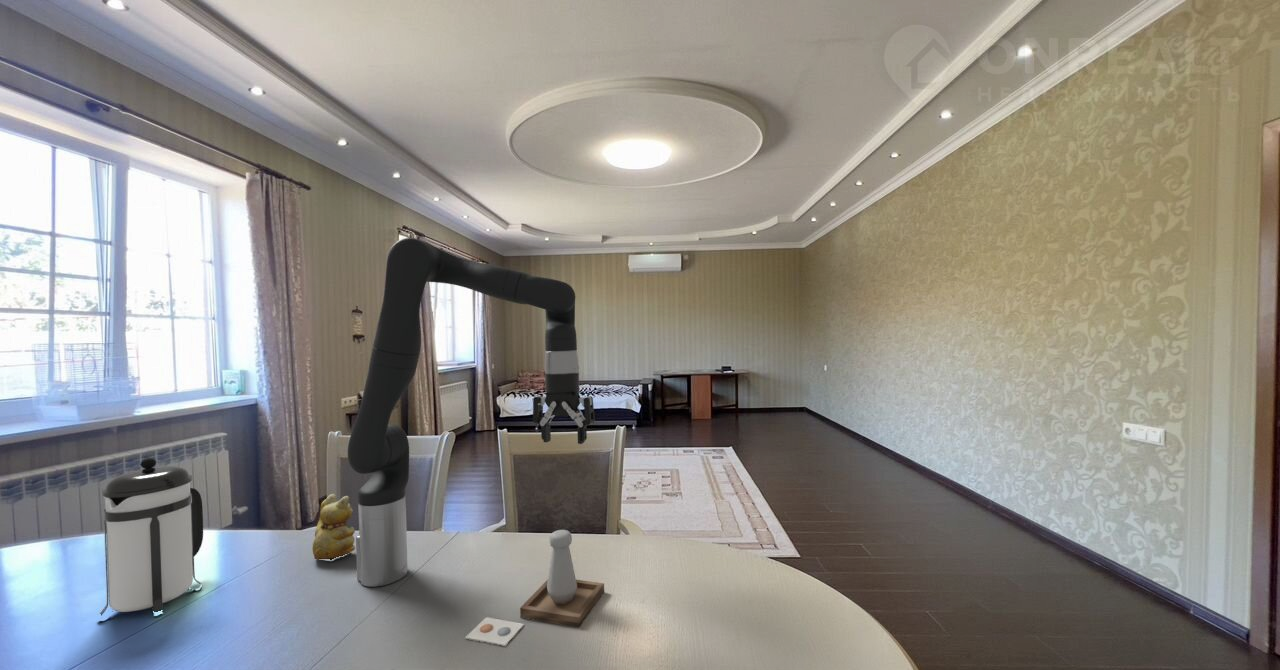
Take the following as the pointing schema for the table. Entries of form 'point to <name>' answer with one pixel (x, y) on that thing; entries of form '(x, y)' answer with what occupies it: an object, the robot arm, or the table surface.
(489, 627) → the card
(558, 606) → the walnut tray
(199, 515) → the coffee press
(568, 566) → the salt shaker
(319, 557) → the decorative figurine
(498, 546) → the table surface
